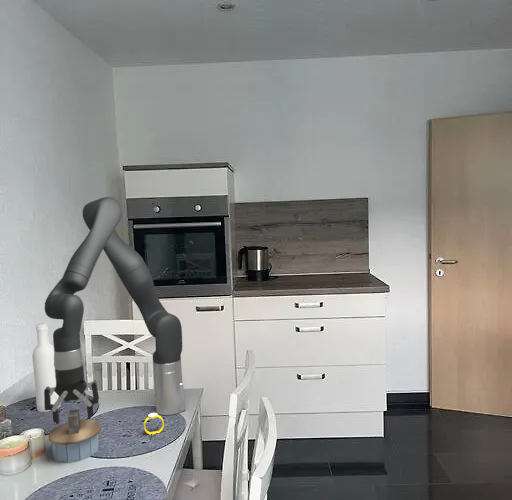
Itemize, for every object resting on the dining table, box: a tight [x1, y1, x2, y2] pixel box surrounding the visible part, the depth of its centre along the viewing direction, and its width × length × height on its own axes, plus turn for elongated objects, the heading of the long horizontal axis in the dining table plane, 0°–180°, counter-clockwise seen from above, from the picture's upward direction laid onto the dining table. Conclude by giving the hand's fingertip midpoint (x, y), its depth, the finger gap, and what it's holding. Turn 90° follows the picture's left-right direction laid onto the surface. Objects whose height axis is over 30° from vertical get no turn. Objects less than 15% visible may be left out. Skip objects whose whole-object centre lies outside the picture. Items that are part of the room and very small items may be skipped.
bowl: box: [51, 433, 100, 464], centre depth 140 cm, size 12×12×6 cm
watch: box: [143, 412, 165, 436], centre depth 149 cm, size 6×3×6 cm, turn 107°
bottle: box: [31, 322, 62, 413], centre depth 173 cm, size 8×8×30 cm
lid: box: [47, 408, 102, 445], centre depth 140 cm, size 14×14×6 cm
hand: (73, 420), depth 140 cm, fingers open, 8 cm apart
